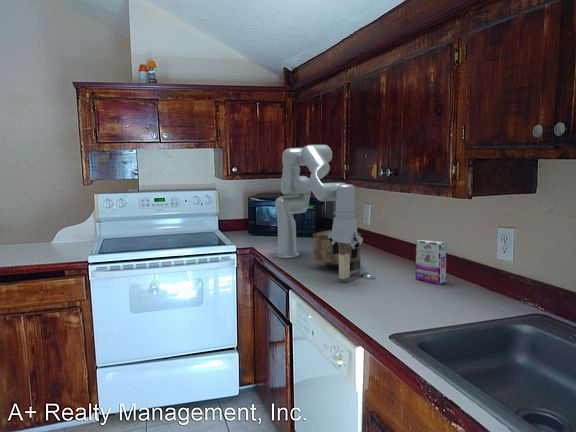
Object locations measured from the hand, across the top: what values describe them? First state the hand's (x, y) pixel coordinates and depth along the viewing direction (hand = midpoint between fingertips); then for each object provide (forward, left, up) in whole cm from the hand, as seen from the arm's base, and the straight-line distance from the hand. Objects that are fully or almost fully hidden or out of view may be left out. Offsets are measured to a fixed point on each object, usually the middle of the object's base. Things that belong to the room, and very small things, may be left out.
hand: (344, 255), depth 177 cm
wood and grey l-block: (0, +5, -10) cm, 12 cm away
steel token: (+5, +10, -11) cm, 15 cm away
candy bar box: (+27, +22, -11) cm, 36 cm away
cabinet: (-15, +14, -10) cm, 23 cm away
